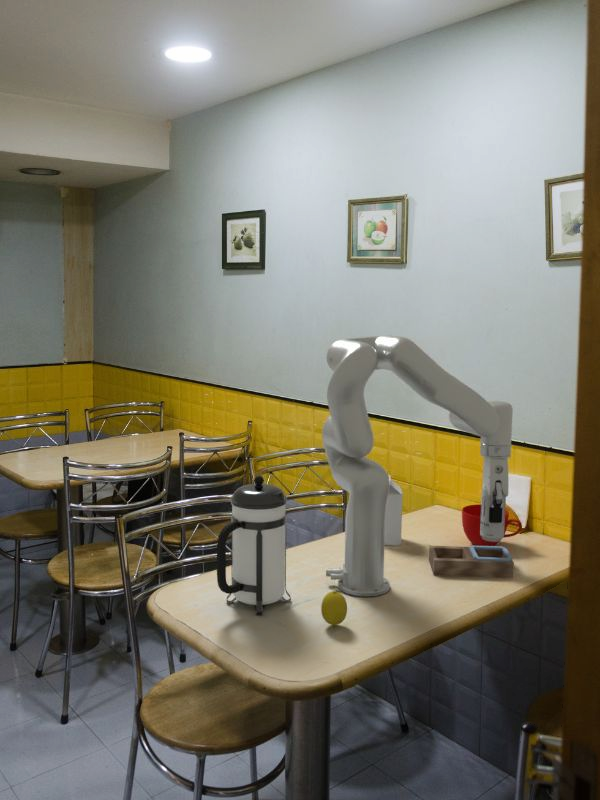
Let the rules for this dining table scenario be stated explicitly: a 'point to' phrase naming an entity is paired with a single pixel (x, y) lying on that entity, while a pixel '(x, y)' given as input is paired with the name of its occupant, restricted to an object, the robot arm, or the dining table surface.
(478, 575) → the block
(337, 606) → the lemon
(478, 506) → the ceramic cup
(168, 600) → the dining table surface
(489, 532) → the energy drink can
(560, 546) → the dining table surface
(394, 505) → the milk carton
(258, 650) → the dining table surface
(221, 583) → the coffee press
